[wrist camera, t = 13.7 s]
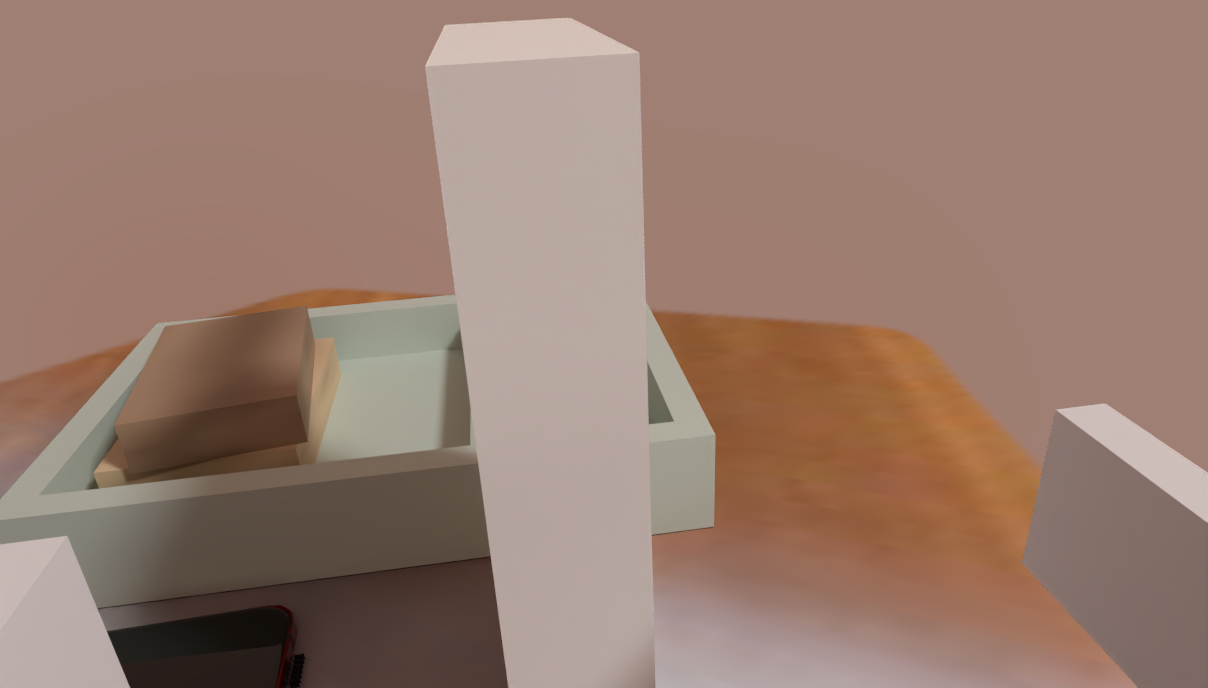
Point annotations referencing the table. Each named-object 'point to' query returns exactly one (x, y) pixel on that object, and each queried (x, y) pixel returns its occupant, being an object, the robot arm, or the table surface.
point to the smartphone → (212, 651)
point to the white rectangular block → (553, 336)
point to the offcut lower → (323, 394)
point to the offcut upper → (221, 390)
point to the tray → (328, 472)
